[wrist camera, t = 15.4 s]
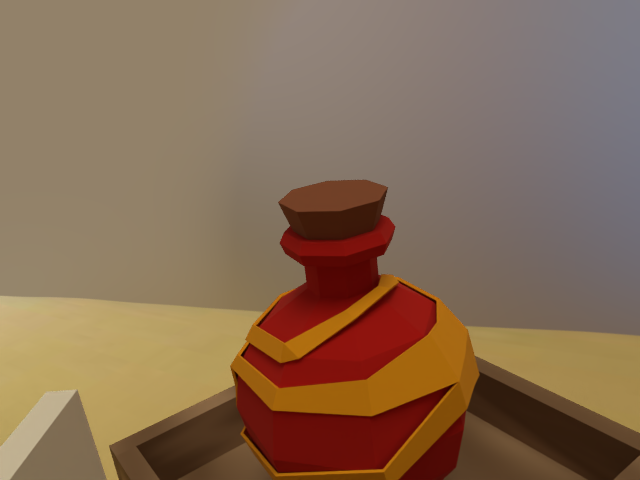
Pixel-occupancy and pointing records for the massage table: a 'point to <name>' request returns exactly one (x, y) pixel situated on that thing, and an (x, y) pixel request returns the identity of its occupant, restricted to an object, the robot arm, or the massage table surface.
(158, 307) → the massage table surface
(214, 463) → the dolly
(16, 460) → the robot arm
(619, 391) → the massage table surface
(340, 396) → the potion bottle
